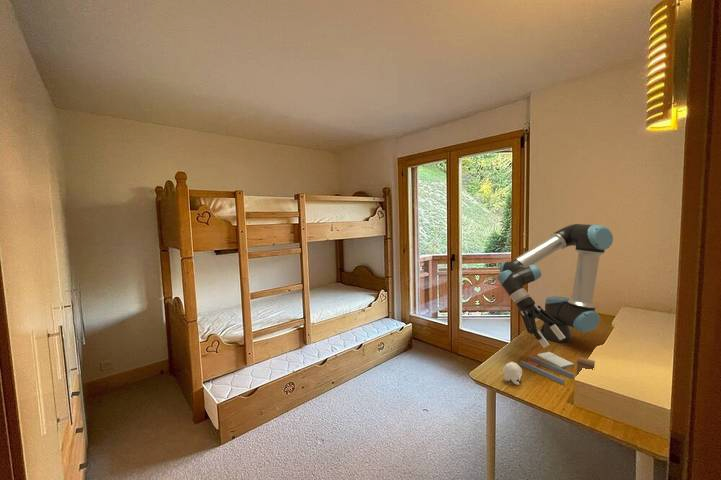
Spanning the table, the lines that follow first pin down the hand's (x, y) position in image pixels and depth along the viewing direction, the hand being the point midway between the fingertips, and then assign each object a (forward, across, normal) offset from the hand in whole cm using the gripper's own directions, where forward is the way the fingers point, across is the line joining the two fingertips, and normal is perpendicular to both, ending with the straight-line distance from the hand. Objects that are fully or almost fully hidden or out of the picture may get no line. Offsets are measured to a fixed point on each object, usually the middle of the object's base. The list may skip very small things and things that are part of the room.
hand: (555, 342), depth 127 cm
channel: (+8, 0, -12) cm, 15 cm away
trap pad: (+4, 0, -17) cm, 17 cm away
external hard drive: (+7, -14, -15) cm, 21 cm away
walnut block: (+18, -2, -2) cm, 19 cm away
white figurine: (+6, +18, -15) cm, 24 cm away
